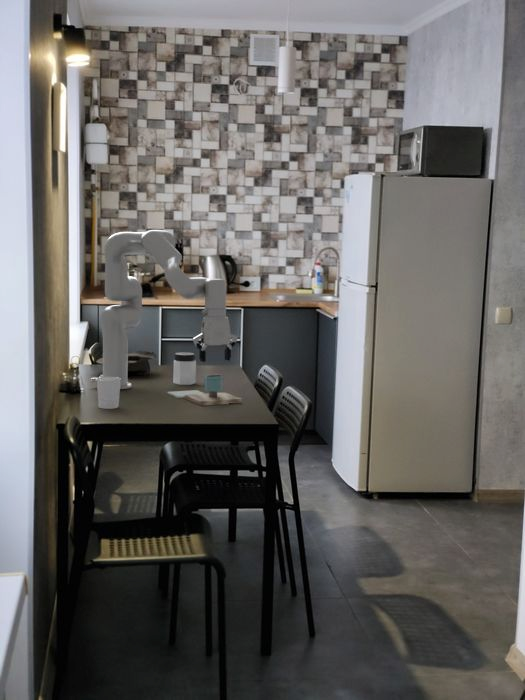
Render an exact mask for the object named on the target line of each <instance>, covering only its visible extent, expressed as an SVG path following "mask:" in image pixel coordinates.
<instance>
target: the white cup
mask: <svg viewBox="0 0 525 700" xmlns="http://www.w3.org/2000/svg"><path fill="white" fill-rule="evenodd" d="M98 377H99V378H98ZM98 377H96V378H97V383H96V384H97V385H96V386H97V387H96V389H97V399H98V402H97V403H98V408H99V409H103V410H104V409H105V410H112V409H117V408H119V407H120V406H119V404H120V394H121V393H120V391H121V389H120V378H118V377H100V376H98Z"/></svg>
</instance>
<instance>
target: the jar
mask: <svg viewBox="0 0 525 700" xmlns="http://www.w3.org/2000/svg"><path fill="white" fill-rule="evenodd" d="M172 370H173V377H172V378H173V379H172V381H173V384H175V385H179V386H191V385H195V384H196V382H197V381H196V380H197V360H196V354H195V353H194V352H189V351H188V352H186V351H184V352H183V351H181V352H176V353H174V360H173V369H172Z"/></svg>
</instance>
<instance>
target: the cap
mask: <svg viewBox="0 0 525 700" xmlns="http://www.w3.org/2000/svg"><path fill="white" fill-rule="evenodd" d="M203 385H204V389H203V390H204V391H206V392H209V391H217V392H221V391H223V376H222V375H221V374H220V373H219V374H206V375H205V377H204V384H203Z"/></svg>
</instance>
